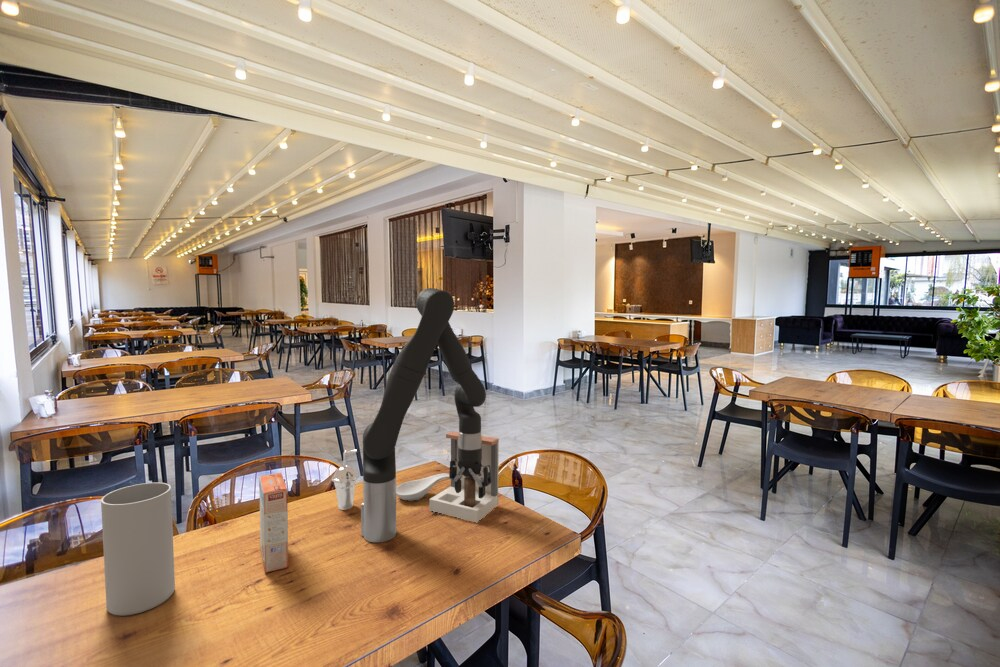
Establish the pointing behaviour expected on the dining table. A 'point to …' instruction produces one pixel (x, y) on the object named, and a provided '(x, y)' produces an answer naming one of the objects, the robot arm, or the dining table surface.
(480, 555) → the dining table surface
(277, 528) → the cracker box
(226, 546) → the dining table surface
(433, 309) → the robot arm
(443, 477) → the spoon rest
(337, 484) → the cup with straw
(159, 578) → the cylinder vase
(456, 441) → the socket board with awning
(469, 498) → the walnut dowel
